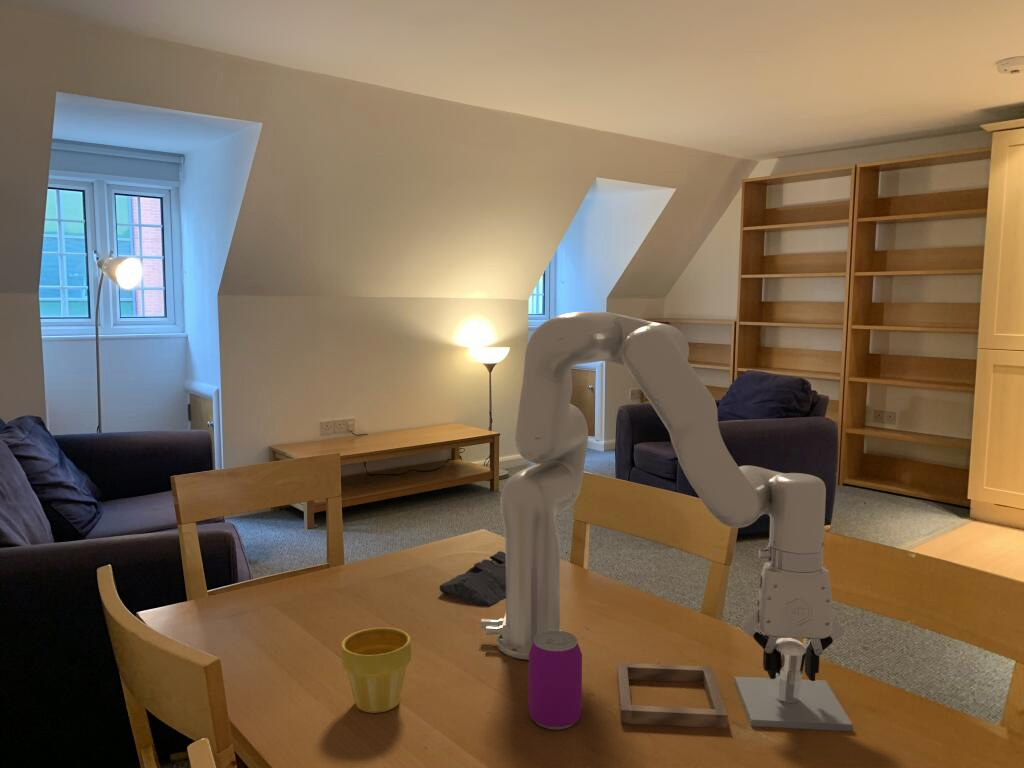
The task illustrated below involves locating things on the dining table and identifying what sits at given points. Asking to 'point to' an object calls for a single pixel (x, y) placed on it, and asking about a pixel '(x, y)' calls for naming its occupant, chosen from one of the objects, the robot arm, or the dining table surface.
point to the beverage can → (555, 680)
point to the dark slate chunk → (480, 582)
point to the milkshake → (789, 669)
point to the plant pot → (376, 666)
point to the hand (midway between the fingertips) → (790, 674)
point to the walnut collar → (671, 715)
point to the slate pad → (792, 706)
